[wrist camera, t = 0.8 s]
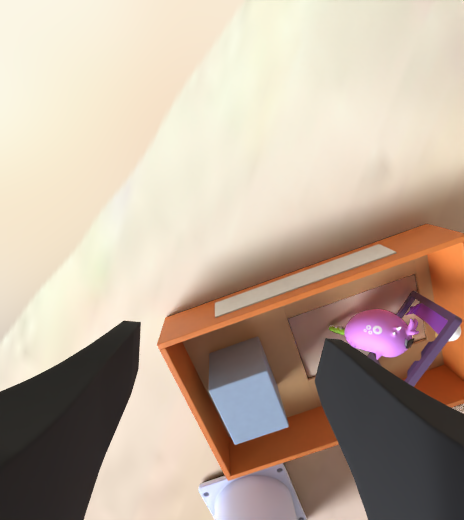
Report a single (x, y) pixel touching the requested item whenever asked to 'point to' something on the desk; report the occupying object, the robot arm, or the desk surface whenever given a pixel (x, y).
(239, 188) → the desk surface
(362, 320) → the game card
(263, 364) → the small cube
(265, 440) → the wooden tray
